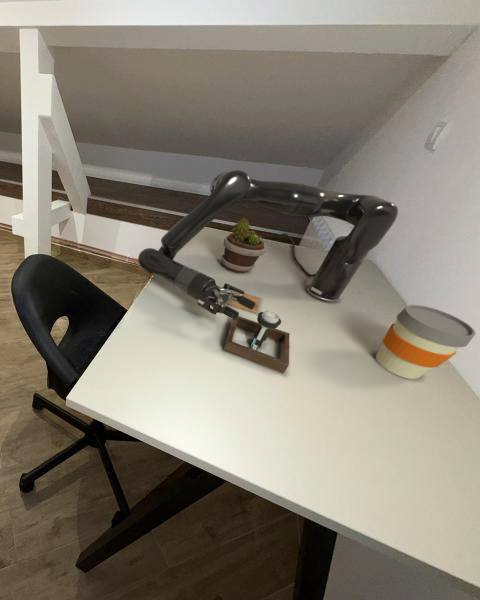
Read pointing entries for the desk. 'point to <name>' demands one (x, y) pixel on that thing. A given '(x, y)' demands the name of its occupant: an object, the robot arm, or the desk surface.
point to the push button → (264, 327)
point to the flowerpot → (242, 248)
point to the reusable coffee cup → (422, 341)
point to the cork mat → (244, 306)
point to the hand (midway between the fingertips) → (246, 311)
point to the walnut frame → (255, 355)
